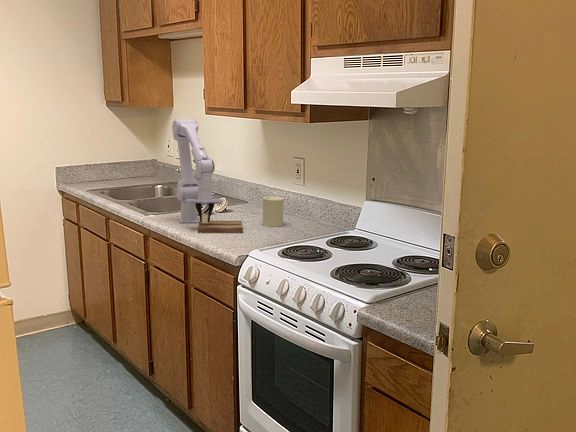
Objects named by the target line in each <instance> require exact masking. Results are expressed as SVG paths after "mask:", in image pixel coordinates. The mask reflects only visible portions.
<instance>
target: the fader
mask: <svg viewBox="0 0 576 432" xmlns="http://www.w3.org/2000/svg"><path fill="white" fill-rule="evenodd" d="M202 225H208V212H202Z"/></svg>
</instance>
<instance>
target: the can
mask: <svg viewBox="0 0 576 432" xmlns="http://www.w3.org/2000/svg"><path fill="white" fill-rule="evenodd" d="M284 200H285V198H284V197H281V196H264V197H262V224H261V225H263V226H264V227H269V228H270V227H271V228H274V227H276V228H279V227H282V226H284V205H285V204H284Z"/></svg>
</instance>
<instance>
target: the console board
mask: <svg viewBox="0 0 576 432" xmlns="http://www.w3.org/2000/svg"><path fill="white" fill-rule="evenodd" d="M243 225H244V224H243V221H242V220H210V222H208V225H202V222H200V220H199V222H198V226H197V233H198V234H243V232H244V227H243Z"/></svg>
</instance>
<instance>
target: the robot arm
mask: <svg viewBox="0 0 576 432" xmlns="http://www.w3.org/2000/svg"><path fill="white" fill-rule="evenodd" d="M171 126H172V127H171V128H172V135H173V139H174V140H175V141H177V147H178V157H179V164H180V165H179V166H180V171H181V178H182V179H180V180H179V181H178V182H177V184H176V197H177V200H178V201H179V202H180V219H179V224H181V223H182V224H184V223H185V224H186V223H187V224H192V223H197V224H199V221H200V222H202V213H203V211H202V210H203V209H202V208H203V207H202V206H203V205H207V207H208V208H207V213H208V222H210V221H211V216H212V213H213V210H214V208H215V205H221V206H223V204H224V202H223V201H224V200H223V198H213V173H214V172H215V161H214V159H213V158H211V157H209V155H208V153H207V151H206V148H205V146H204V145H202V144H201V142H200V138H199V135H198V131H199V122H198V121H197V119H196V118H191V119H189V118H188V119H185V118H183V119H181V118H179V119H178V118H175V119H174V120H173V121H172V125H171ZM190 146H191V147H190ZM192 157H193V159H194V161H195V166H194V168H195V169H194V170H195V172H196V178H197V179H196V178H195V177H194V170H193V162H192Z"/></svg>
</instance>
